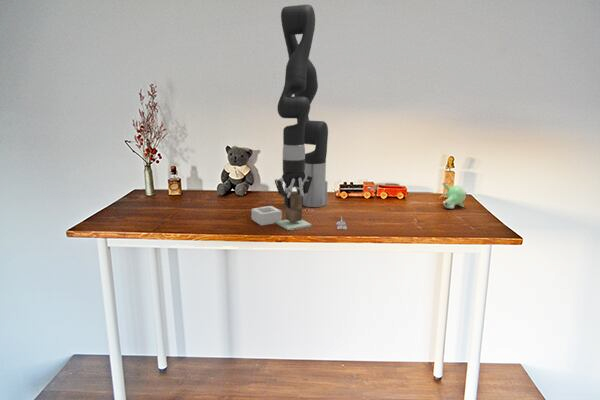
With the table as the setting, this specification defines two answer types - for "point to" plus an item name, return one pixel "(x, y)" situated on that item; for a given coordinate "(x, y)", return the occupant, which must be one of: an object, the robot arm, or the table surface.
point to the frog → (453, 196)
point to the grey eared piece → (341, 224)
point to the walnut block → (294, 208)
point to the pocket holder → (266, 215)
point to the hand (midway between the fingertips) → (293, 206)
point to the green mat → (293, 224)
